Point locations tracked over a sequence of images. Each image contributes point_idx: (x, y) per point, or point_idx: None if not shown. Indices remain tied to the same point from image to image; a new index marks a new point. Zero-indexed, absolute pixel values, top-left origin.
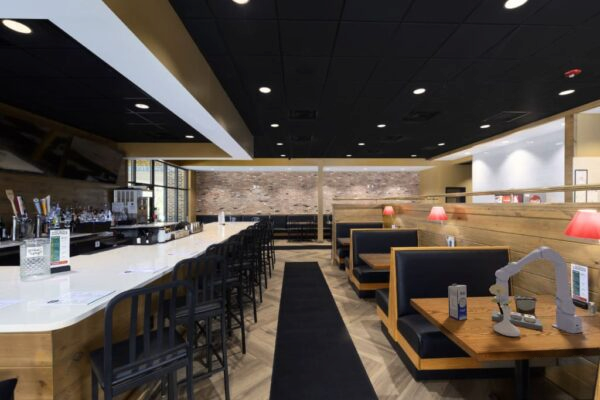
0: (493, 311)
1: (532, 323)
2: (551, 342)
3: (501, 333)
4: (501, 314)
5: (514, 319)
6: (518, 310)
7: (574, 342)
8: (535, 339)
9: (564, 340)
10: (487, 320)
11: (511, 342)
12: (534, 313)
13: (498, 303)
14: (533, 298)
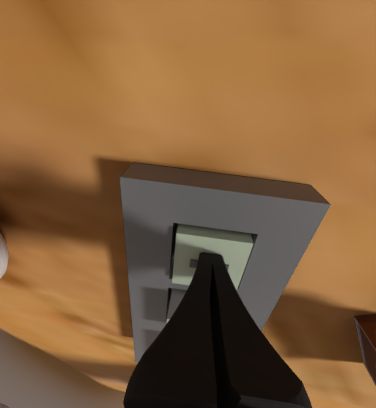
0: (279, 202)
1: (141, 345)
2: (34, 332)
3: None
4: (188, 254)
5: (149, 299)
6: (371, 343)
7: (94, 369)
8: (11, 304)
9: (89, 358)
10: (92, 123)
11: None
12: (366, 368)
13: (132, 376)
14: None
